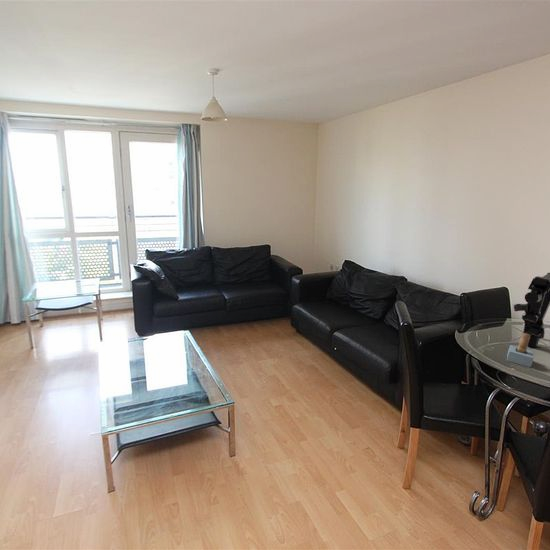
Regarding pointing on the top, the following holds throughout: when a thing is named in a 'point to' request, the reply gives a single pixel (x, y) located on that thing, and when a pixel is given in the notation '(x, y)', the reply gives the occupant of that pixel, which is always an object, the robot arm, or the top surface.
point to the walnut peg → (523, 343)
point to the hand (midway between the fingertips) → (526, 330)
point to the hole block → (520, 356)
